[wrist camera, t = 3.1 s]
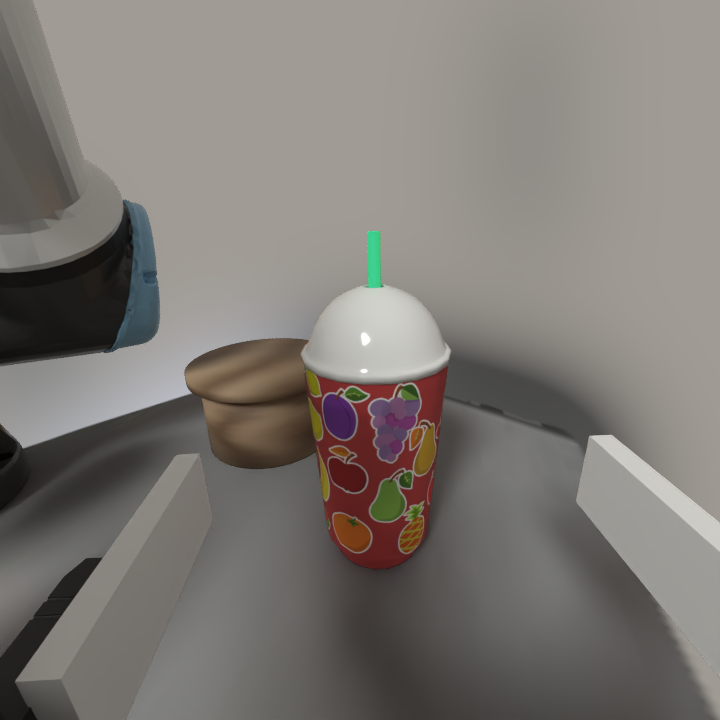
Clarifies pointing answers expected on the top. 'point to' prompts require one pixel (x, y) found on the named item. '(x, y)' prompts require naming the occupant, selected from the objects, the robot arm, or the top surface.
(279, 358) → the tan muffin-shaped cylinder
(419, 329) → the smoothie
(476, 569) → the top surface
